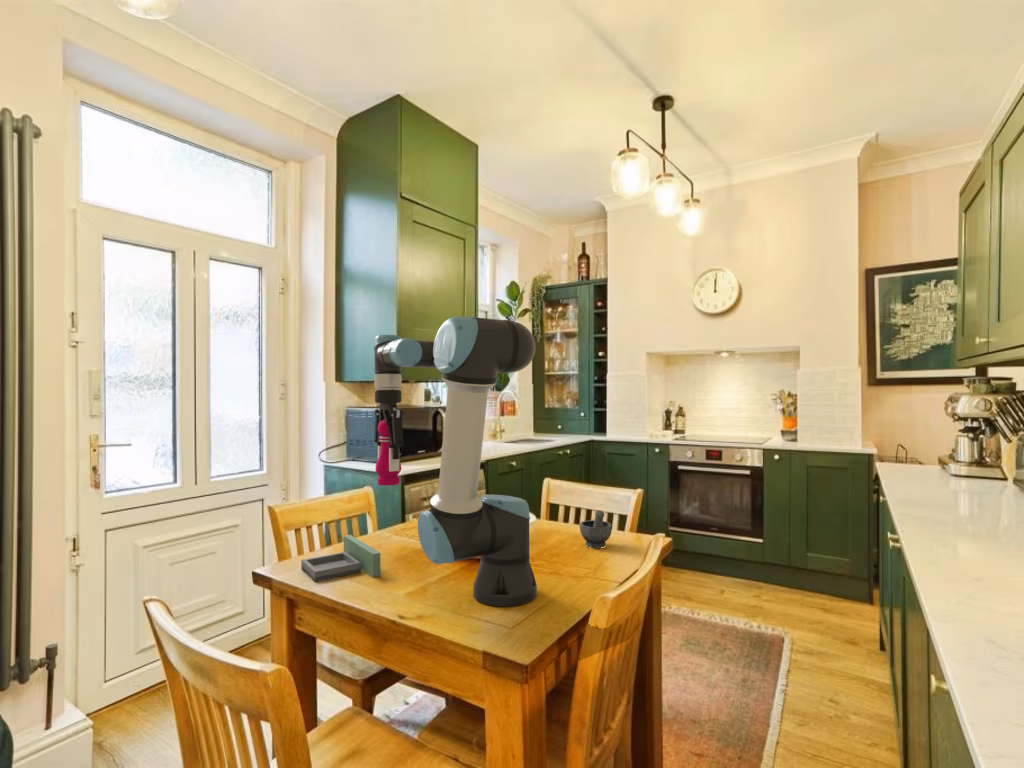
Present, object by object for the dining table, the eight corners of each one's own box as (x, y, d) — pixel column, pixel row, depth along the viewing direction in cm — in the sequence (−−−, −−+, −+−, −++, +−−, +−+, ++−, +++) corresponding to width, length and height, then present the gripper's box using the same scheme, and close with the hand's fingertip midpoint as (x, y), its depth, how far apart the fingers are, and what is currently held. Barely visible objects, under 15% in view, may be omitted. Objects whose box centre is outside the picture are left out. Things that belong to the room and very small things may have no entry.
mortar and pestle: (577, 542, 170) (577, 504, 170) (606, 541, 171) (605, 503, 171) (585, 552, 159) (585, 512, 159) (616, 551, 160) (616, 511, 160)
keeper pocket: (360, 572, 143) (360, 562, 143) (314, 581, 136) (314, 571, 136) (345, 560, 152) (345, 551, 152) (301, 569, 145) (301, 559, 145)
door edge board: (380, 575, 140) (380, 552, 140) (373, 577, 139) (373, 554, 139) (350, 555, 157) (350, 534, 157) (343, 556, 156) (343, 535, 156)
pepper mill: (404, 481, 156) (404, 413, 156) (396, 486, 149) (396, 414, 149) (380, 481, 157) (380, 413, 157) (371, 485, 150) (371, 414, 150)
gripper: (416, 388, 147) (416, 472, 147) (386, 389, 164) (386, 464, 163) (390, 388, 143) (390, 474, 143) (362, 389, 159) (362, 466, 159)
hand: (388, 469), depth 153 cm, fingers closed on pepper mill, 7 cm apart
